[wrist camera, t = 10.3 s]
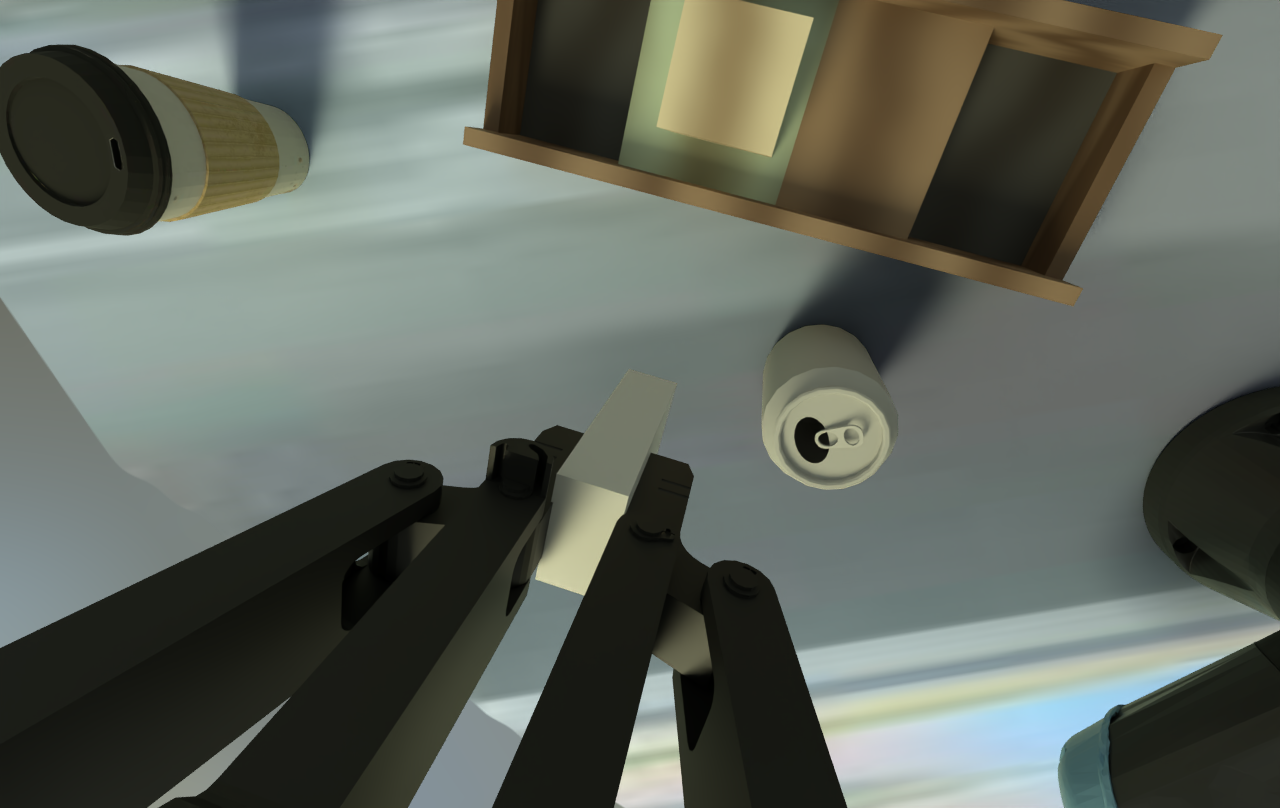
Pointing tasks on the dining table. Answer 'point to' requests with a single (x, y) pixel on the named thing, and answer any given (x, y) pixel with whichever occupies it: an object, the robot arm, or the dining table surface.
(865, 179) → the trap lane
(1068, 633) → the dining table surface
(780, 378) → the can
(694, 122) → the maple block
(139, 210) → the coffee cup
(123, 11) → the dining table surface
